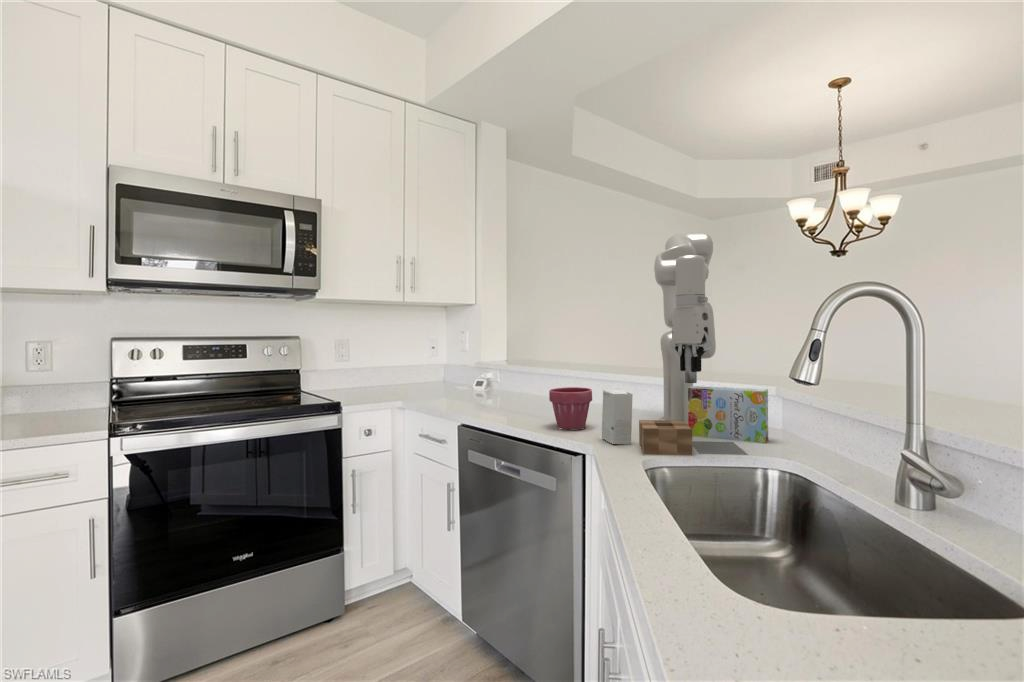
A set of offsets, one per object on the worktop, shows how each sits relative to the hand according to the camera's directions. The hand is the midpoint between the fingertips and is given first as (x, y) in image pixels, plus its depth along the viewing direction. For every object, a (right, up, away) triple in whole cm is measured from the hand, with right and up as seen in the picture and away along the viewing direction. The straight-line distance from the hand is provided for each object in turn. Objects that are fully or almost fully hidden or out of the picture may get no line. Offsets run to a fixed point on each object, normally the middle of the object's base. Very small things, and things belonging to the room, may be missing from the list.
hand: (690, 370), depth 132 cm
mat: (+7, -21, +1) cm, 22 cm away
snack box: (+15, -21, +13) cm, 29 cm away
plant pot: (-28, -21, +32) cm, 48 cm away
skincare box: (-17, -22, +11) cm, 30 cm away
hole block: (-7, -21, 0) cm, 22 cm away
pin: (0, -3, 0) cm, 3 cm away
